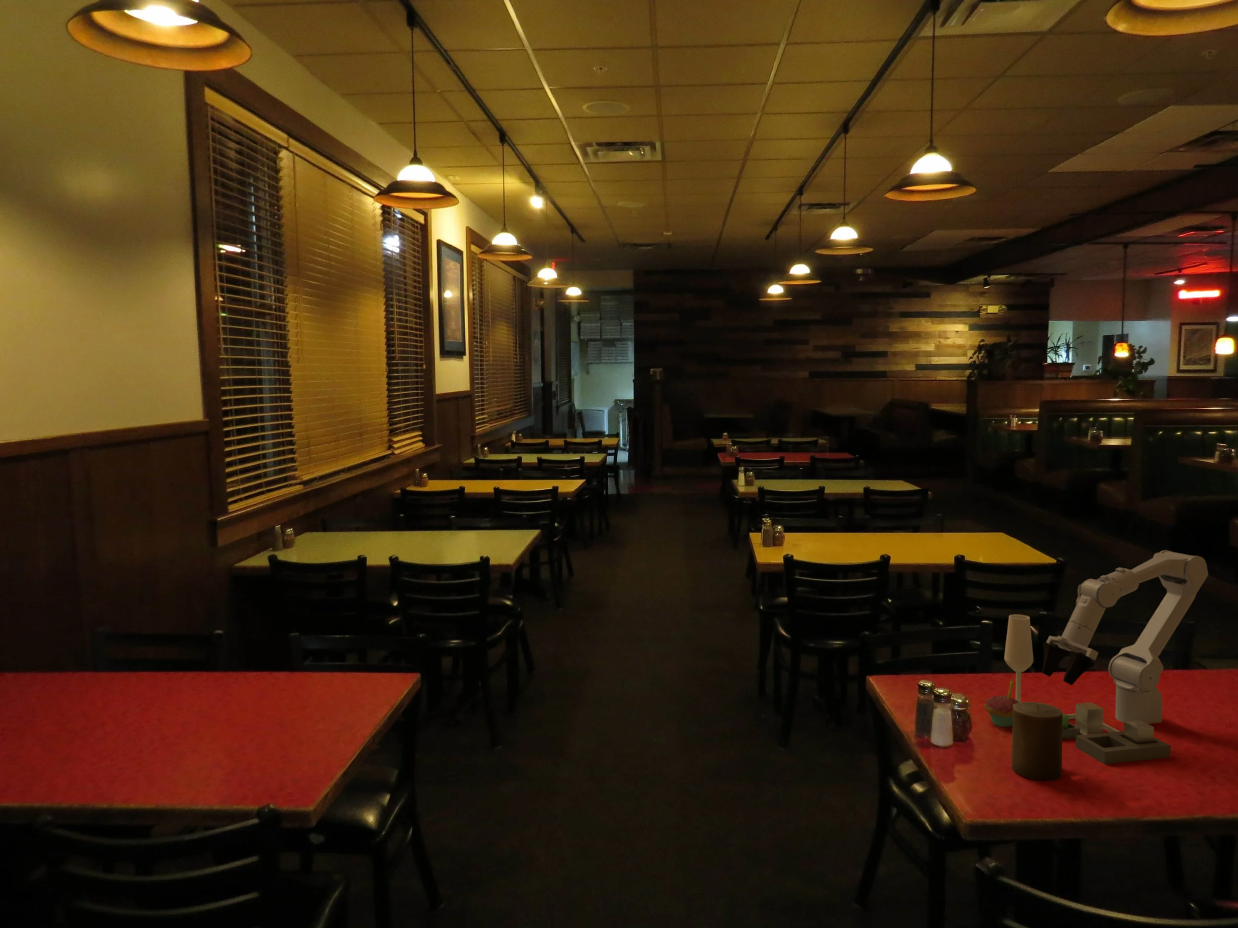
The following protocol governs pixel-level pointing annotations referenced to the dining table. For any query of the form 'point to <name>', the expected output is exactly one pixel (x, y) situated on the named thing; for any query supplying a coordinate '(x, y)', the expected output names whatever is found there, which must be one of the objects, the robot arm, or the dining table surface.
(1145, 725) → the seated billet
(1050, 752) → the pillar candle
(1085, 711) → the block
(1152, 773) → the dining table surface
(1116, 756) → the grey holding fixture
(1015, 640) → the champagne flute
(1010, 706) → the cupcake
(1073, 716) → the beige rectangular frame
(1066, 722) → the button
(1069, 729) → the switch box
